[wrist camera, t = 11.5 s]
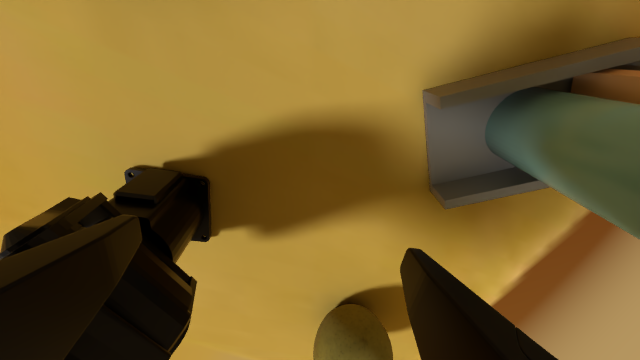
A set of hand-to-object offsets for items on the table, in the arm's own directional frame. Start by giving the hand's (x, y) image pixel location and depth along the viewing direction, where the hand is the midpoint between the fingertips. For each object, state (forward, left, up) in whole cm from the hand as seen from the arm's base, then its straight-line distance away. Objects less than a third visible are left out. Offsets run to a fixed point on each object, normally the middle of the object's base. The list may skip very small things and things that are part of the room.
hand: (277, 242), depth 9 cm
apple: (-20, -8, -13) cm, 25 cm away
